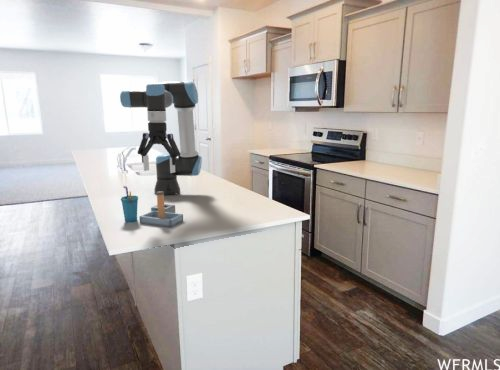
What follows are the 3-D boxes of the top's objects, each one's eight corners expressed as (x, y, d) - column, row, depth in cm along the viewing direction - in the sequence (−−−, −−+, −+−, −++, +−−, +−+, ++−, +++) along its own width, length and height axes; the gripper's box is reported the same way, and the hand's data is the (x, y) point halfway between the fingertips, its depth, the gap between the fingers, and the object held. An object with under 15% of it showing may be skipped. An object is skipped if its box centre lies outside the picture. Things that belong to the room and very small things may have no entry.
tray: (139, 222, 159) (139, 216, 158) (153, 216, 168) (153, 210, 168) (170, 227, 153) (170, 220, 153) (183, 220, 162) (183, 214, 162)
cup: (117, 217, 167) (115, 185, 164) (134, 215, 171) (132, 184, 168) (126, 225, 155) (123, 191, 152) (144, 222, 160) (142, 189, 157)
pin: (156, 221, 160) (155, 192, 157) (160, 219, 163) (159, 191, 160) (162, 221, 159) (161, 193, 156) (166, 219, 161) (165, 191, 159)
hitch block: (151, 215, 170) (151, 207, 169) (161, 211, 177) (161, 203, 176) (165, 217, 167) (165, 209, 166) (175, 213, 174) (175, 205, 173)
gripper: (127, 121, 153) (130, 170, 157) (177, 122, 144) (179, 174, 148) (138, 121, 160) (141, 168, 164) (187, 122, 151) (189, 172, 155)
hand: (159, 171), depth 156 cm, fingers open, 13 cm apart
